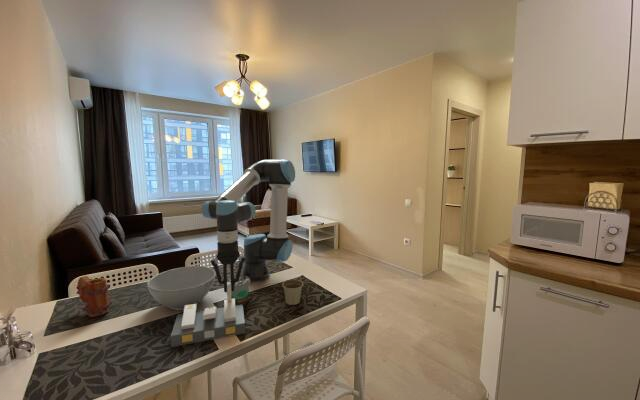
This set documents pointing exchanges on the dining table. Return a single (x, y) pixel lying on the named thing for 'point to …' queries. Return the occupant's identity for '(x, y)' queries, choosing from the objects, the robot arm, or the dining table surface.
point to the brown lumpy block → (94, 295)
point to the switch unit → (208, 327)
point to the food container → (241, 291)
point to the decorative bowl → (181, 286)
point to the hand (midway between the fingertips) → (229, 299)
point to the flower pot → (292, 291)
